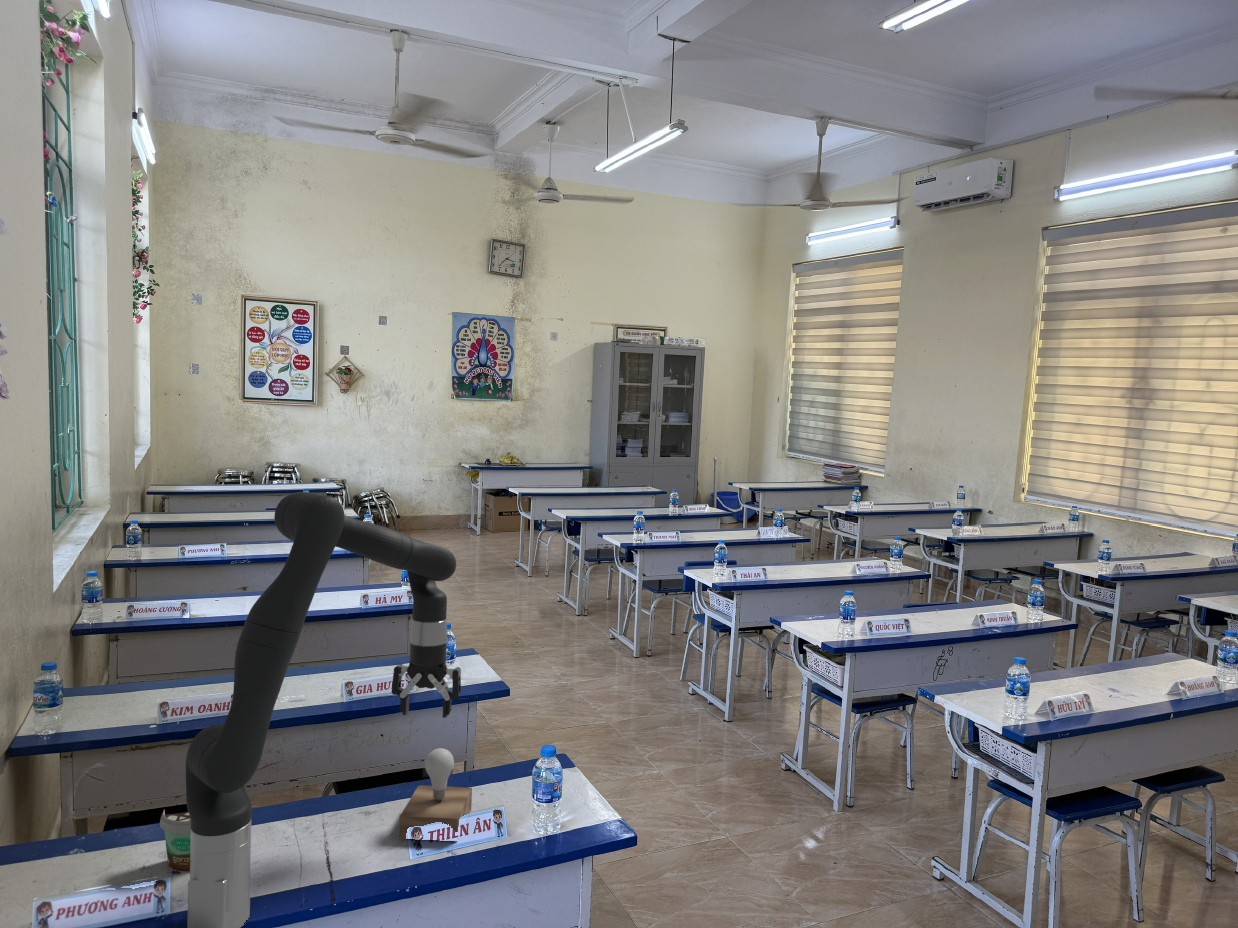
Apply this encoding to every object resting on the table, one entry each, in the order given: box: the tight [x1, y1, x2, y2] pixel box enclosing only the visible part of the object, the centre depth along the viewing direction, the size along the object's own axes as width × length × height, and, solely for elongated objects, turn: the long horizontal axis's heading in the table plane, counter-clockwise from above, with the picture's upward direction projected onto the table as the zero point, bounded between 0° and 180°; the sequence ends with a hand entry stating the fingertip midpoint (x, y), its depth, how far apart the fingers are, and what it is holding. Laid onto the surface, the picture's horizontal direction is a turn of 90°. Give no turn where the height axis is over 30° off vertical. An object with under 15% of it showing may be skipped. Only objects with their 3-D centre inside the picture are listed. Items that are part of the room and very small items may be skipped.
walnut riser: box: [398, 784, 473, 841], centre depth 169 cm, size 14×12×5 cm
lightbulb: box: [424, 747, 455, 801], centre depth 170 cm, size 6×6×11 cm
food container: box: [159, 809, 191, 873], centre depth 150 cm, size 12×6×10 cm, turn 105°
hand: (425, 715), depth 168 cm, fingers open, 8 cm apart
